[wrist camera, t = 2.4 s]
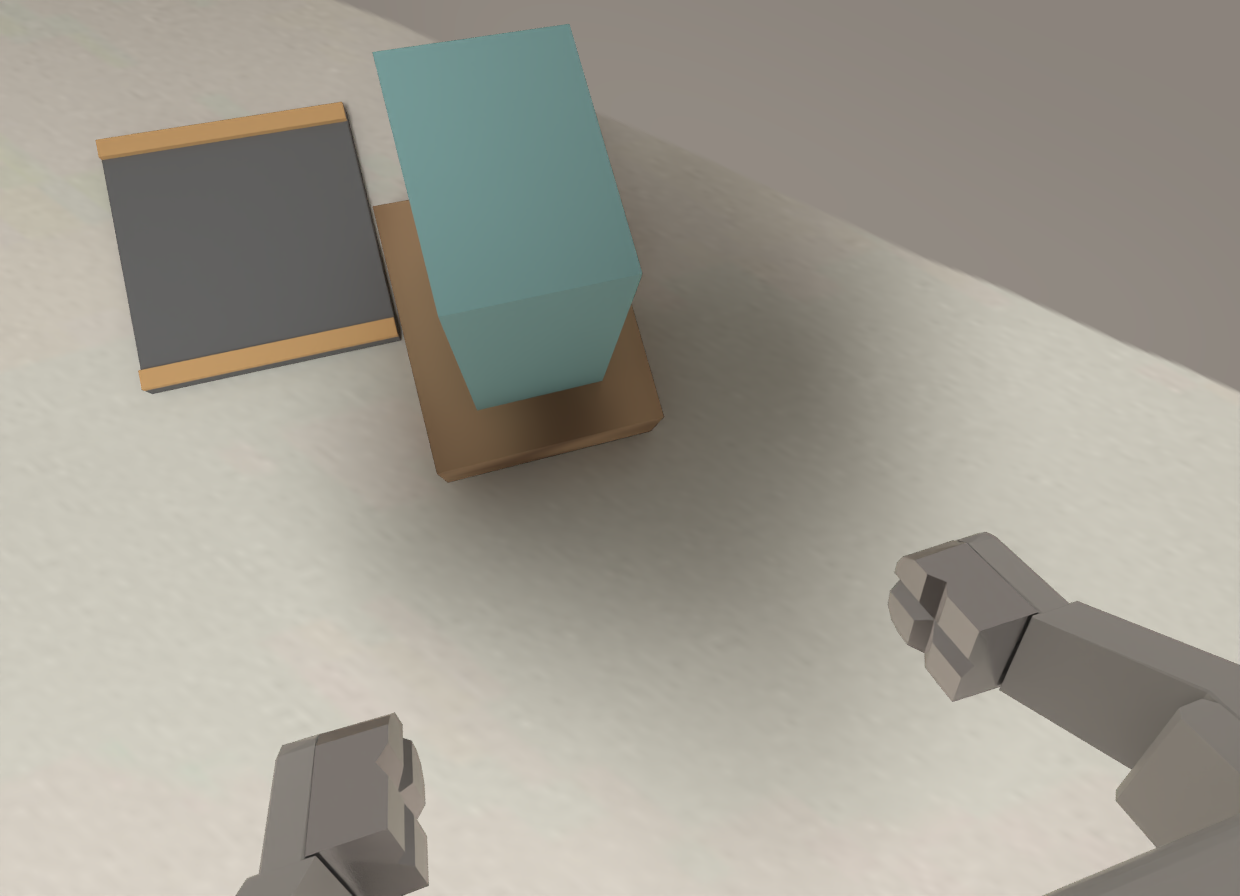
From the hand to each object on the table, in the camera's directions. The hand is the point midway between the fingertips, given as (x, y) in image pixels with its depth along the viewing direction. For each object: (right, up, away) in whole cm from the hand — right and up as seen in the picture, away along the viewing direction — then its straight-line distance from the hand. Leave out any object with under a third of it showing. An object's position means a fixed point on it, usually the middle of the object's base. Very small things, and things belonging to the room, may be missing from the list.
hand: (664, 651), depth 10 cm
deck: (-5, +8, +18) cm, 21 cm away
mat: (-16, +12, +18) cm, 27 cm away
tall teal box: (-5, +9, +16) cm, 18 cm away
